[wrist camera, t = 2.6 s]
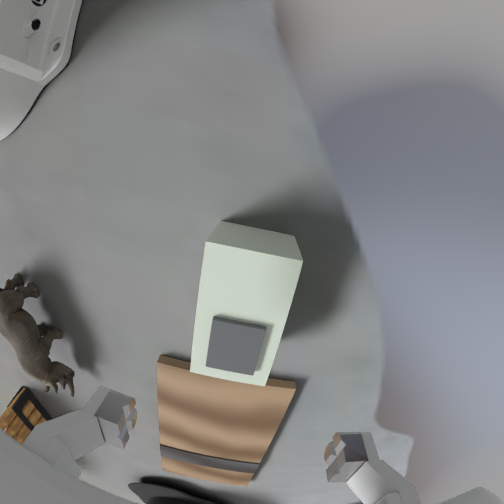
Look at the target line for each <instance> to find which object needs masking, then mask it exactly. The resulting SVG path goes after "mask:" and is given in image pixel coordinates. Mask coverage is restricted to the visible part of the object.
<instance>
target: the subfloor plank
mask: <svg viewBox="0 0 504 504" xmlns="http://www.w3.org/2000/svg"><path fill="white" fill-rule="evenodd" d="M190 366H191V363H190V362H186V361H182V360H178V359H174V358H170V357H166V356H163V355H160V357H159V359H158V361H157V390H158V415H159V432H160V451H161V456H162V466H163V470H164V471H168V472H172V473H176V474H180V475H184V476H188V477H192V478H197V479H202V480H207V481H213V482H218V483H225V484H231V485H239V486H247V485H248V483H249V482H250V480H251V478H252V476H253V475H254V474H255V472H256V470H257V469H258V467H259V465H260V462H261V460H262V458H263V456H264V454H265V453H266V451H267V449H268V447H269V445H270V443H271V441H272V439H273V437H274V435H275V433H276V431H277V429H278V427H279V425H280V423H281V421H282V419H283V417H284V414H285V412H286V410H287V408H288V406H289V404H290V402H291V399H292V397H293V395H294V393H295V390H296V384H295V381H287V380H280V379H273V378H268V379H267V382H266V385H265V386H259V385H253V384H247V383H241V382H235V381H230V380H225V379H220V378H215V377H210V376H206V375H201V374H197V373H193V372H190Z"/></svg>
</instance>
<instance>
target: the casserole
mask: <svg viewBox="0 0 504 504" xmlns="http://www.w3.org/2000/svg"><path fill="white" fill-rule="evenodd" d="M128 486H129V488H130V489H131V490H132V491H133V492H134V493H135V494H136V495H138V496H139V497H140V499H141V500H142V501H143V502H144V503H146V504H217V503H214V502H212V501H209V500H207V499H203V498H200V497H197V496H193V495H189V494H187V493H185V492H182V491H180V490H177V489H174V488H171V487H167V486H162V485H156V484H150V483H130V484H129V485H128Z"/></svg>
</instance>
